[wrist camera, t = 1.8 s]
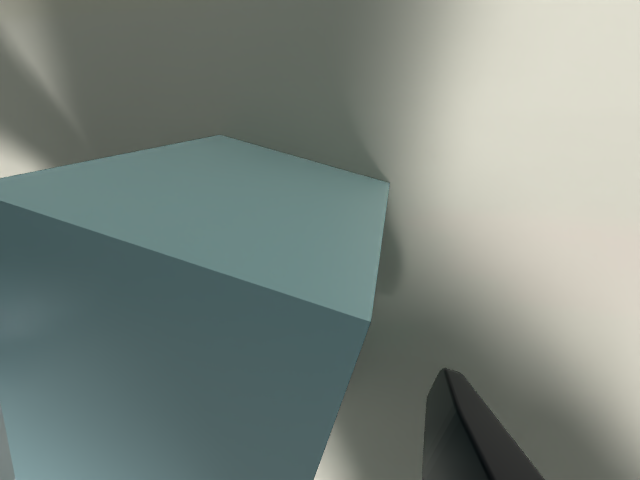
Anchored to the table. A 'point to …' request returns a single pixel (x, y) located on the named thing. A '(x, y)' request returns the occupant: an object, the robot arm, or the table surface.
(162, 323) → the block
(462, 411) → the robot arm
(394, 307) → the table surface
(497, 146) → the table surface
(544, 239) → the table surface
